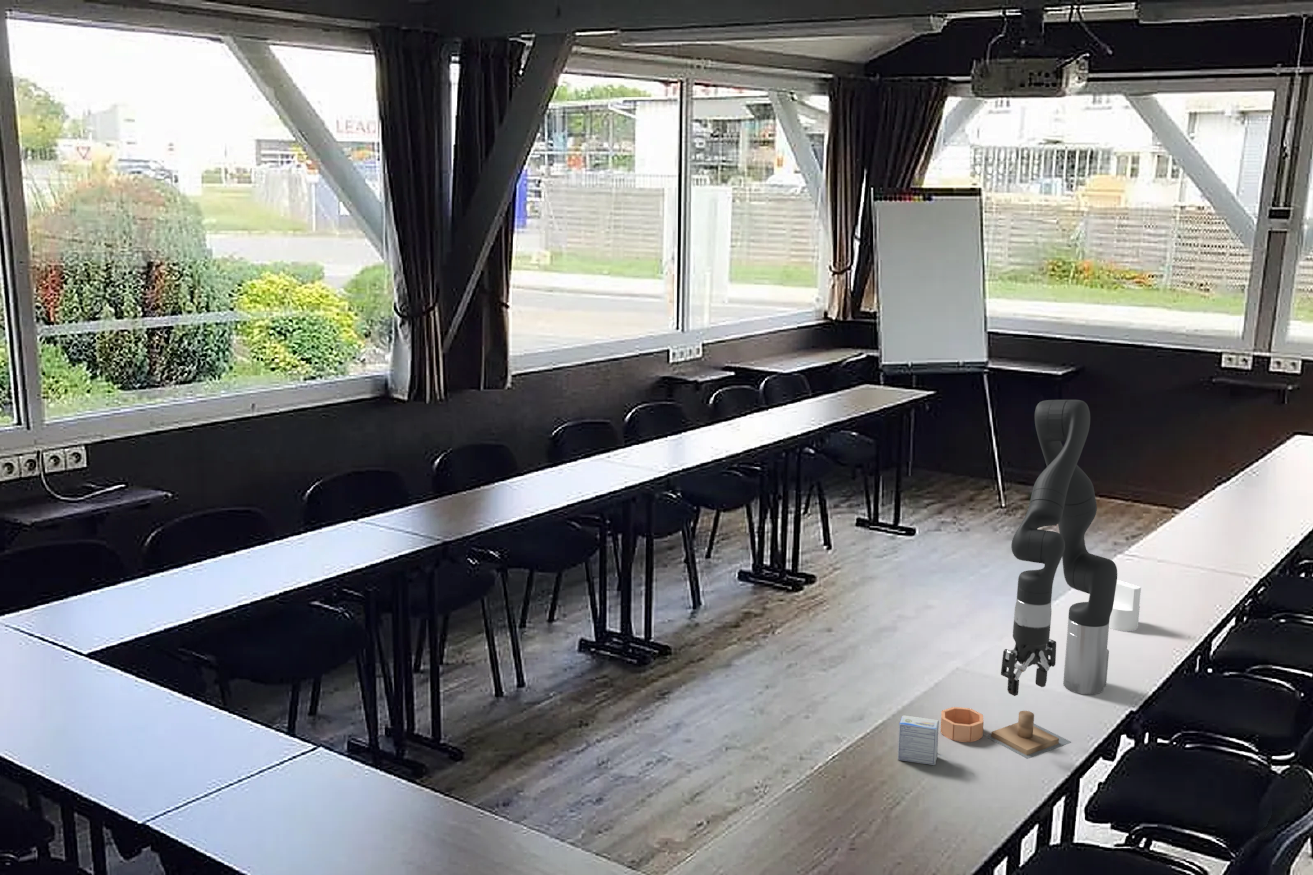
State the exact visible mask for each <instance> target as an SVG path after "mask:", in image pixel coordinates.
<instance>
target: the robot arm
mask: <svg viewBox="0 0 1313 875" xmlns="http://www.w3.org/2000/svg"><path fill="white" fill-rule="evenodd" d="M1034 424H1035V425H1034V426H1035V430H1036V434H1037V438H1038V442H1039V445H1040V448H1041V452H1042V454H1043V457H1044V461H1045V464H1046V467H1045V468H1044V469H1043V471H1042V472H1041V473H1040V474H1039V475H1038V477H1037V479H1036V480H1035V482H1034V485H1033V487H1032V492H1031V496H1030V501H1029V506H1028V507H1027V508H1028V509H1027V511H1026V513H1025V515H1024V518H1023V520H1022V521H1021V523H1020V524H1019V526H1018V528H1017V529H1016V531H1015V533H1014V535H1013V537H1012V539H1011V552H1012V554H1013V556H1014V558H1015V559H1017V560H1019V561H1024V562H1031V563H1036V564H1042V565H1044V567H1042V568H1040V569H1030V570H1025V571H1021V572H1020V573H1019V576H1018V579H1017V590H1016V592H1017V593H1016V600H1015V604H1014V613H1013V614H1014V616H1013V626H1012V638H1013V641H1014V642H1015V643H1014V644H1015V646H1014V648H1013V649H1011V650H1010V649H1007V648H1005V649H1003V653H1002V659H1001V670H1000V675H1001V676H1002V677H1004V678H1007V692H1008V694H1009V695H1011V696H1013V697H1016V696H1018V695H1019V689H1020V687H1019V686H1020V677H1021V675H1022V673H1025V672H1026V670H1027V668H1028V667H1031V666H1032V665H1035V666H1036V667H1037V668H1036V673H1035V684H1036V686H1039V687H1041V688H1044V687H1046V684H1047V681H1048V672H1049V670H1050V668H1051V667H1055V666H1056V657H1057V641H1055V640H1053V639H1051V638H1050V634H1051V623H1052V597H1053V585H1054V581H1055V576H1056V573H1057V569H1058V567H1059V564H1060V563H1061V561H1062V568H1063V576H1064V579H1065V582H1066V584H1067V585H1068V586H1069V587H1070V588H1072V589H1074V590H1077V591H1079V592H1083V593H1085V594H1087V595H1088V594H1089V597H1088V601H1080V602H1077V603H1074V604H1072V605H1071V606H1070V607H1069V609H1068V620H1067V633H1066V643H1065V644H1066V645H1065V657H1064V670H1063V681H1062V682H1063V687H1064V688H1066V689H1067V690H1068V691H1070V692H1073V693H1077V694H1082V695H1098V694H1100V693H1102V692H1103V691H1104V689H1105V687H1107V680H1108V666H1109V656H1110V650H1109V649H1108V643H1109V642H1108V641H1109V630H1110V628H1109V620H1110V615H1111V612H1112V609H1113V604H1114V597H1115V590H1116V584H1117V580H1118V568H1117V565H1116V563H1115V562H1114V560H1112V559H1110V558H1107V557H1105V556H1104V557H1102V556H1099V555H1097V554H1092V553H1090V552H1089V551H1088V550H1087V548H1086V541H1085V534H1086V532H1087V531H1088V529H1089V528H1090V526H1091V525H1092V523H1093V522H1094V520H1095V517H1096V515H1097V510H1098V506H1097V500H1096V499H1097V498H1096V494H1095V489H1094V488H1095V487H1094V484H1093V483H1092V480H1091V479H1090V477H1088V475H1087V474H1086V472H1084V470H1083V469H1082V468H1081V467H1080V466H1079V465H1078V462H1079V460H1080V457H1081V454H1082V452H1083V448H1084V446H1085V443H1086V441H1087V437H1088V435H1089V431H1090V427H1091V426H1090V425H1091V411H1090V408H1089V406H1088V403H1086V402H1085V401H1084V400H1080V399H1048V400H1047V399H1046V400H1042V401H1039V403H1037V405H1036V406H1035V411H1034ZM1062 442H1064V444H1062ZM1056 525H1057V526H1058V531H1059V532H1057V531H1052V530H1046V529H1040V528H1043V527H1051V526H1056ZM1049 657H1050V658H1049ZM1017 663H1019V664H1017ZM1020 664H1021V665H1020ZM1015 670H1016V672H1015Z"/></svg>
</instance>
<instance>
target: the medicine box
mask: <svg viewBox="0 0 1313 875" xmlns="http://www.w3.org/2000/svg"><path fill="white" fill-rule="evenodd" d="M939 729H940V722H939V720H938V719H932V718H927V717H920V716H919V717H918V716H911V715H905V714H904V715H902V716H901V719H900V721H899V723H898V744H897V746H898V750H897V761H902V762H903V761H904V762H910V763H917V764H923V765H929V766H936V764H937V763H936V762H937V758H938V747H939Z"/></svg>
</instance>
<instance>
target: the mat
mask: <svg viewBox="0 0 1313 875" xmlns="http://www.w3.org/2000/svg"><path fill="white" fill-rule="evenodd" d="M1033 726H1035V727H1037V728H1039V729H1041V730H1043V731H1045V732H1047V733H1049V734H1051V735H1053V736H1055V737H1057V738H1059V744H1056V745H1053V746H1051V747H1048V748H1045V749H1043V750H1040V751H1037V752H1035V753H1032V754H1029V755H1025V754H1023V753H1021V752H1019V751H1017V750H1015V749H1014V748H1012V747H1010V746H1008V745H1006V744H1004V743H1002V742H1000V741H998V740H996V739H995V738H993V737H991V733H989V734H987V735H984V737H986V738H987V739H989V740H991V741H992V742H995V743H996V744H998V745H999V746H1002V747H1004V748H1005V749H1008V750H1010V751H1012V752H1013V753H1015V754H1018V755H1019V756H1021V757H1023V758H1025V759H1031V758H1032V757H1036V756H1039V755H1041V754H1044V753H1046V752H1049V751H1052V750H1054V749H1057V748H1060V747H1062V746H1065V745H1068V744H1071V743H1072V740H1068V739H1066V738H1065V737H1062V736H1061V735H1059V734H1056V733H1054V732H1052V731H1051V730H1048V729H1046V728H1044V727H1042V726H1041V725H1038V724H1037V723H1034V725H1033Z"/></svg>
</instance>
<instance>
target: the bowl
mask: <svg viewBox="0 0 1313 875" xmlns="http://www.w3.org/2000/svg"><path fill="white" fill-rule="evenodd" d="M940 712H941V714H940V733H941V735H943V737H945V738H947V739H949V740H952V741H955V742H959V743H973V742H977V741H979V740H980V739H982V738H983V734H984V715H983V714H982V713H980V712H979V711H976V710H974V709H973V708H970V707H960V706H959V707H958V706H951V707H949V708H946V709H943V710H941V711H940Z"/></svg>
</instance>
